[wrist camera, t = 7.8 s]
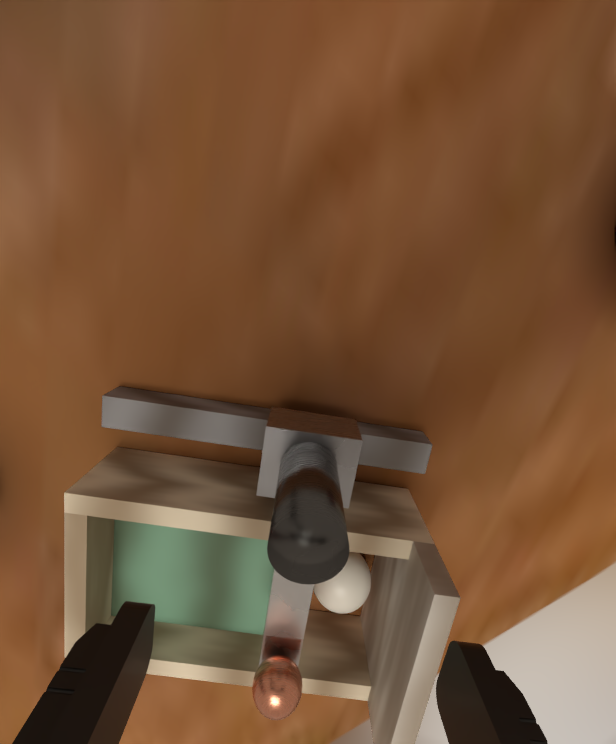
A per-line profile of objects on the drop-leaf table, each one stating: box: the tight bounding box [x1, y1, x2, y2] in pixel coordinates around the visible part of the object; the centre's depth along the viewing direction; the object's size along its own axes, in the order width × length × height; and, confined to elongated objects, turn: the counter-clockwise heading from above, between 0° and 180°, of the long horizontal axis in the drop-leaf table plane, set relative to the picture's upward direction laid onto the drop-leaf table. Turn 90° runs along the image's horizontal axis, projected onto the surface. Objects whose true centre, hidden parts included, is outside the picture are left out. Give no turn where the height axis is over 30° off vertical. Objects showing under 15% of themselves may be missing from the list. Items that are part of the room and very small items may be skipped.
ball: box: [313, 552, 371, 614], centre depth 25 cm, size 4×4×4 cm
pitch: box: [64, 386, 460, 744], centre depth 22 cm, size 20×17×9 cm
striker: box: [252, 407, 363, 720], centre depth 19 cm, size 5×13×9 cm, turn 171°
